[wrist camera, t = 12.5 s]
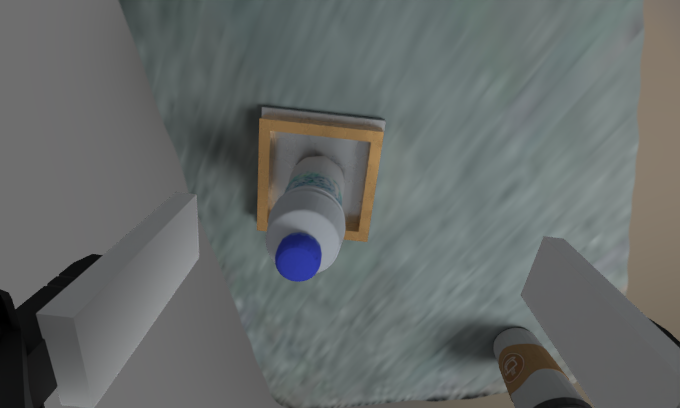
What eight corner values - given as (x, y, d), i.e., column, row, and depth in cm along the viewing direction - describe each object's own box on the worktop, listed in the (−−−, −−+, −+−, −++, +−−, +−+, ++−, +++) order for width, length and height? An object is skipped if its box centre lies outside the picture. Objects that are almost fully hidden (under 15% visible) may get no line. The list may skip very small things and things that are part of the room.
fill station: (264, 105, 43) (256, 110, 39) (384, 119, 43) (387, 125, 39) (261, 222, 48) (254, 235, 45) (367, 233, 49) (368, 247, 45)
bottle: (307, 211, 46) (280, 318, 28) (280, 165, 44) (230, 248, 26) (356, 189, 45) (360, 285, 26) (330, 140, 43) (316, 208, 24)
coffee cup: (508, 312, 53) (564, 405, 39) (554, 334, 54) (624, 432, 40) (473, 351, 56) (514, 450, 42) (518, 371, 57) (572, 474, 43)
